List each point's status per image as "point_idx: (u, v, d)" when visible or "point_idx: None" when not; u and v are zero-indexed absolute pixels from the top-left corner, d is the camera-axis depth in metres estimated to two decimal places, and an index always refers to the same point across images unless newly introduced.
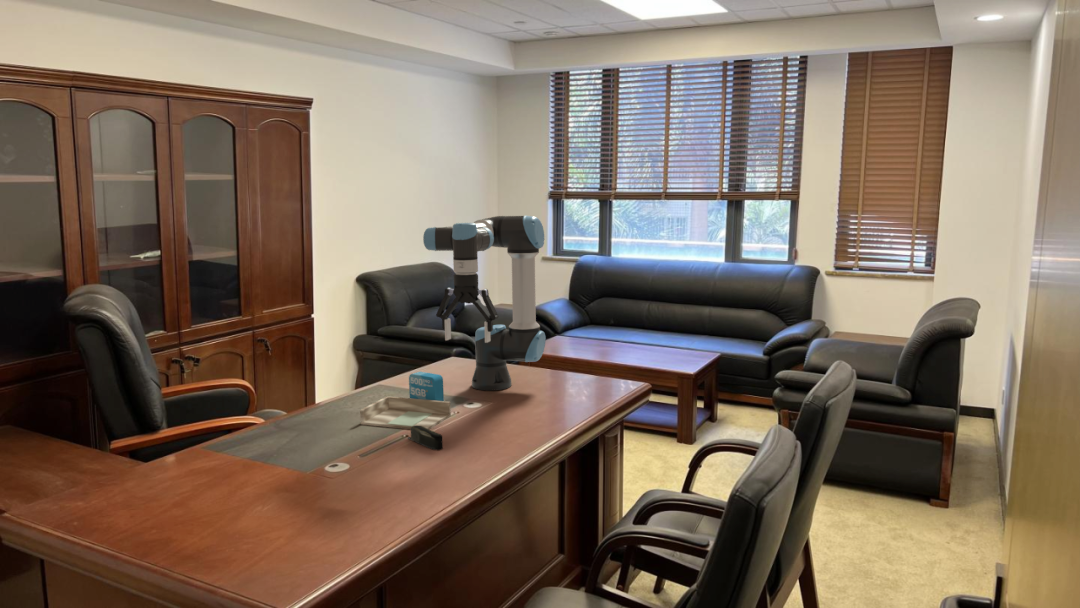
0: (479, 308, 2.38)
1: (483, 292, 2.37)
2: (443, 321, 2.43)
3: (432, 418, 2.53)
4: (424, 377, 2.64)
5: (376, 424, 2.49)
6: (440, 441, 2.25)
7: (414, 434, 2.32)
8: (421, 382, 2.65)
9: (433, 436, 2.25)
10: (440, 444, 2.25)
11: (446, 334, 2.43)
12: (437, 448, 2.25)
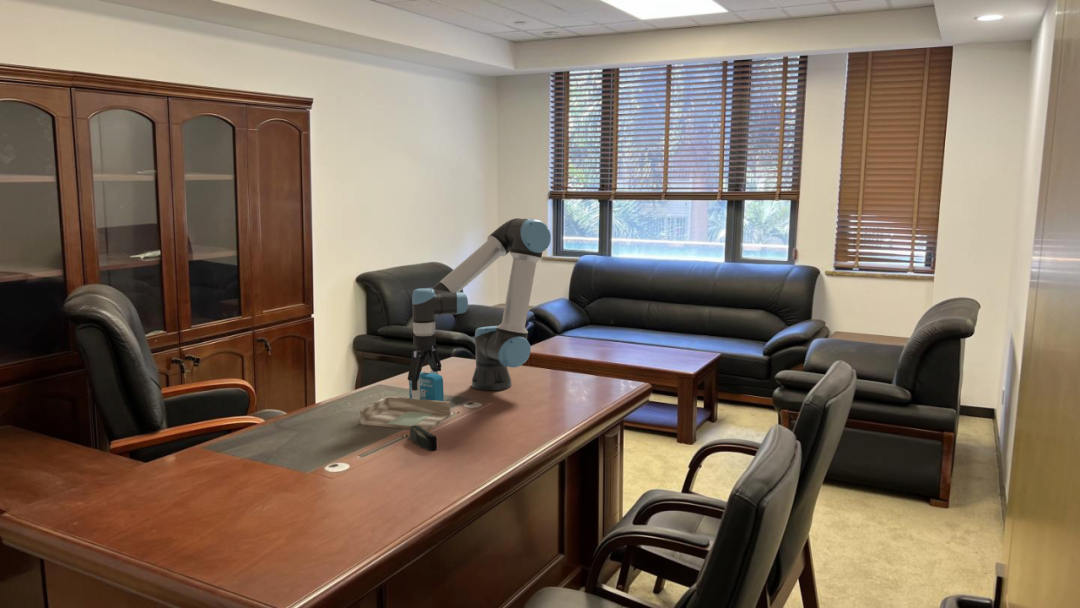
0: None
1: None
2: None
3: (432, 418, 2.53)
4: (424, 377, 2.64)
5: (376, 424, 2.49)
6: (434, 442, 2.24)
7: (412, 434, 2.33)
8: (421, 382, 2.65)
9: (427, 437, 2.25)
10: (434, 445, 2.25)
11: None
12: (431, 449, 2.24)
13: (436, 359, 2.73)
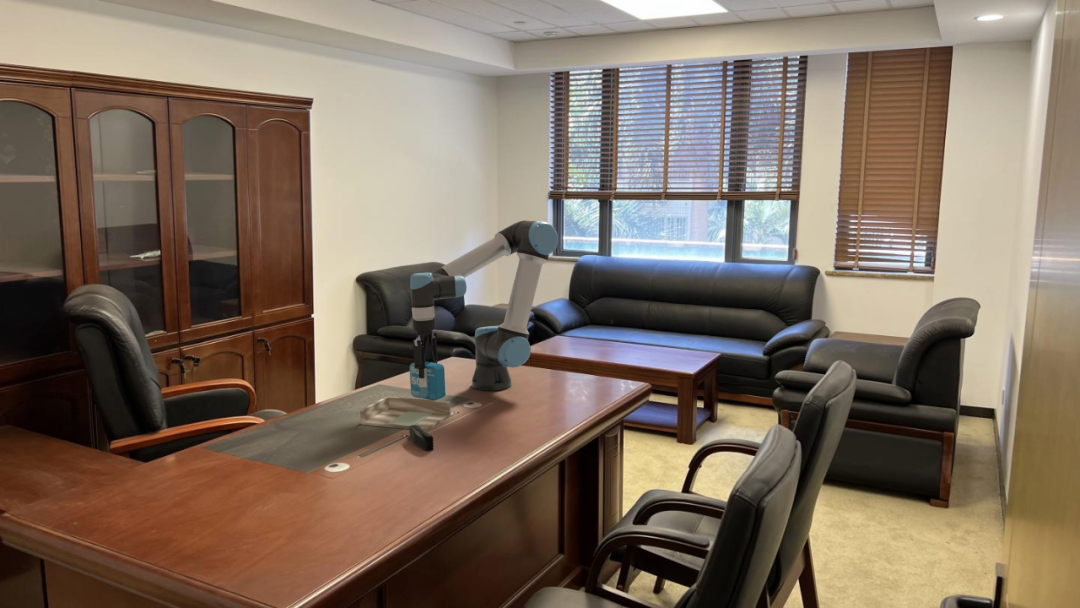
0: None
1: None
2: None
3: (432, 418, 2.53)
4: (425, 366, 2.64)
5: (376, 424, 2.49)
6: (430, 442, 2.24)
7: (411, 434, 2.33)
8: None
9: (424, 437, 2.24)
10: (430, 445, 2.24)
11: None
12: (427, 449, 2.24)
13: (434, 349, 2.70)
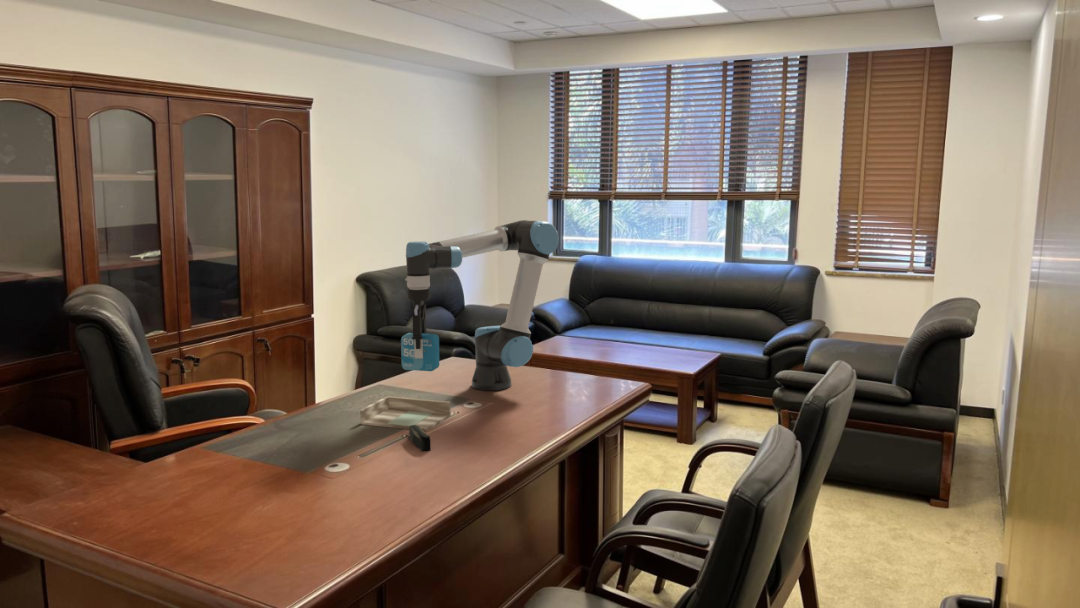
0: None
1: None
2: None
3: (432, 418, 2.53)
4: None
5: (376, 424, 2.49)
6: (427, 443, 2.24)
7: (410, 434, 2.33)
8: None
9: (421, 437, 2.24)
10: (427, 446, 2.24)
11: None
12: (424, 449, 2.24)
13: (423, 320, 2.65)
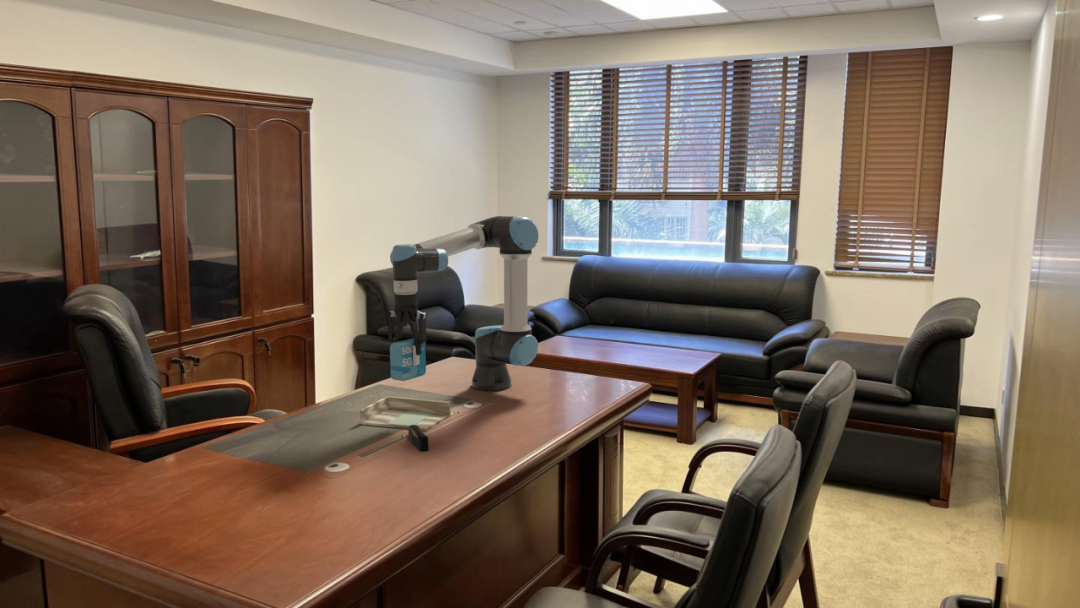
0: (412, 330, 2.47)
1: (421, 316, 2.45)
2: None
3: (432, 418, 2.53)
4: None
5: (376, 424, 2.49)
6: (425, 443, 2.24)
7: (409, 434, 2.33)
8: None
9: (419, 437, 2.24)
10: (425, 446, 2.24)
11: None
12: (422, 450, 2.24)
13: (394, 328, 2.52)
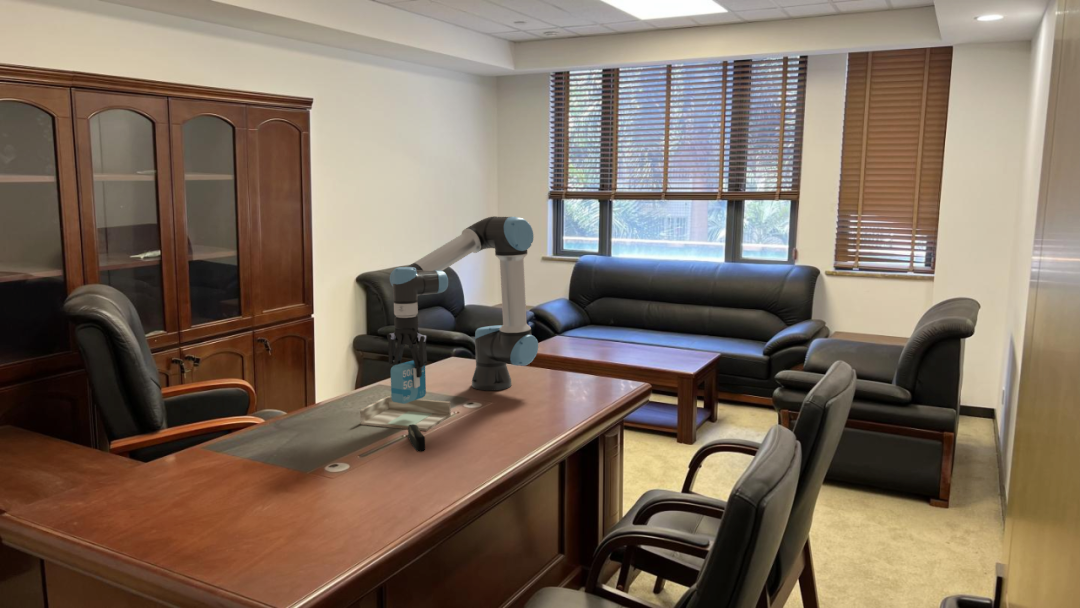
0: (413, 352, 2.48)
1: (421, 338, 2.46)
2: None
3: (432, 418, 2.53)
4: None
5: (376, 424, 2.49)
6: (422, 443, 2.24)
7: (409, 433, 2.34)
8: None
9: (415, 437, 2.24)
10: (422, 446, 2.24)
11: None
12: (418, 449, 2.24)
13: (394, 350, 2.52)
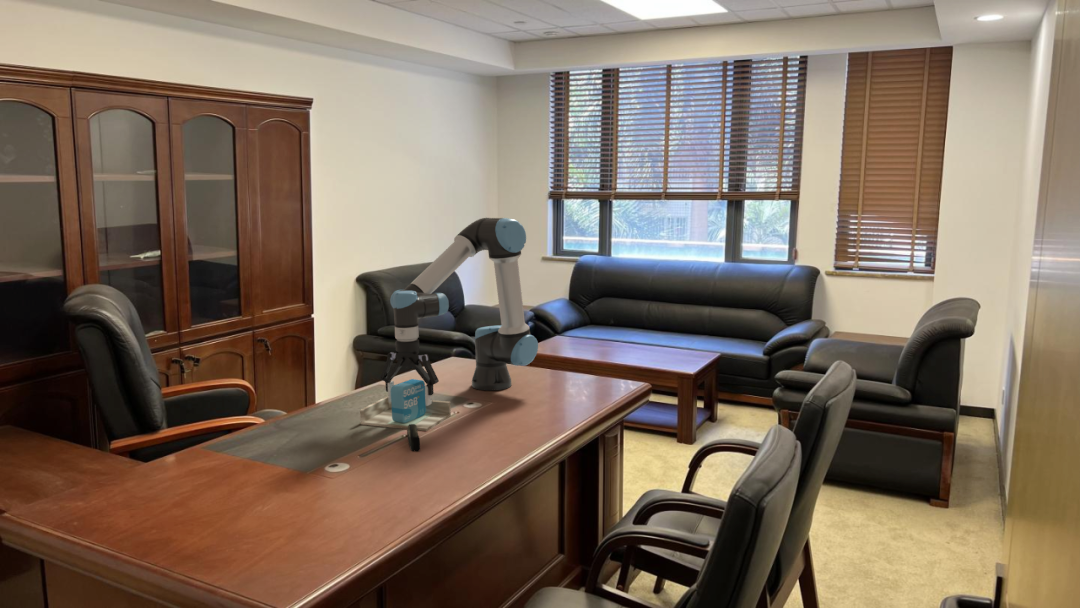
0: (420, 373, 2.48)
1: (423, 358, 2.47)
2: (386, 384, 2.53)
3: (432, 418, 2.53)
4: (416, 383, 2.51)
5: (376, 424, 2.49)
6: (416, 443, 2.24)
7: None
8: (413, 390, 2.50)
9: (410, 437, 2.25)
10: (416, 446, 2.24)
11: (389, 396, 2.53)
12: (413, 449, 2.24)
13: (389, 368, 2.54)
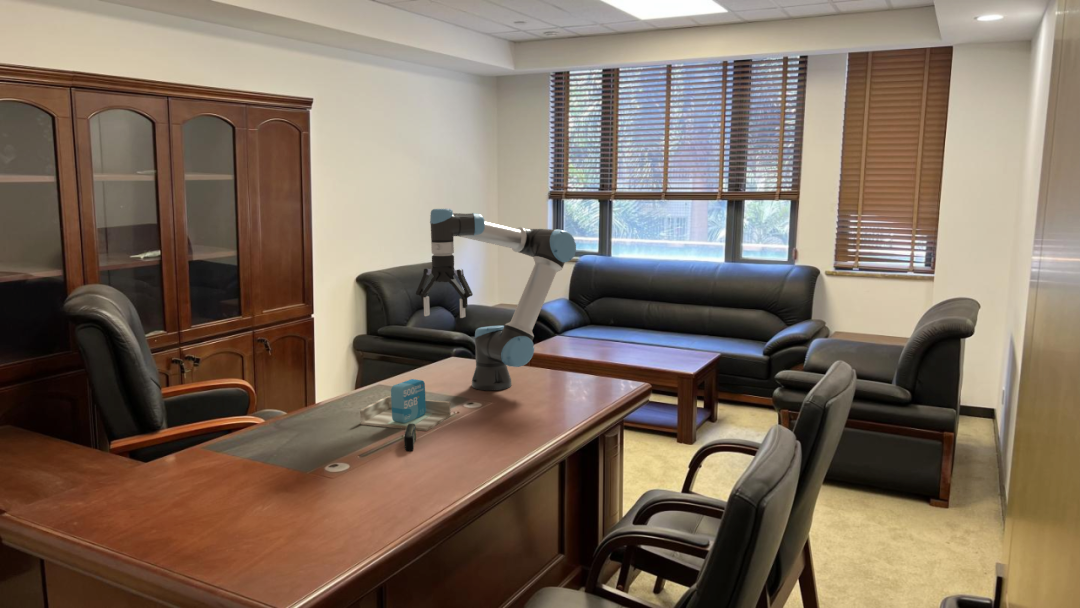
0: (455, 286, 2.61)
1: (458, 272, 2.60)
2: (422, 299, 2.66)
3: (432, 418, 2.53)
4: (416, 383, 2.51)
5: (376, 424, 2.49)
6: (409, 443, 2.24)
7: None
8: (413, 390, 2.50)
9: (404, 436, 2.25)
10: (409, 446, 2.24)
11: (425, 310, 2.66)
12: (406, 449, 2.25)
13: (425, 284, 2.67)
